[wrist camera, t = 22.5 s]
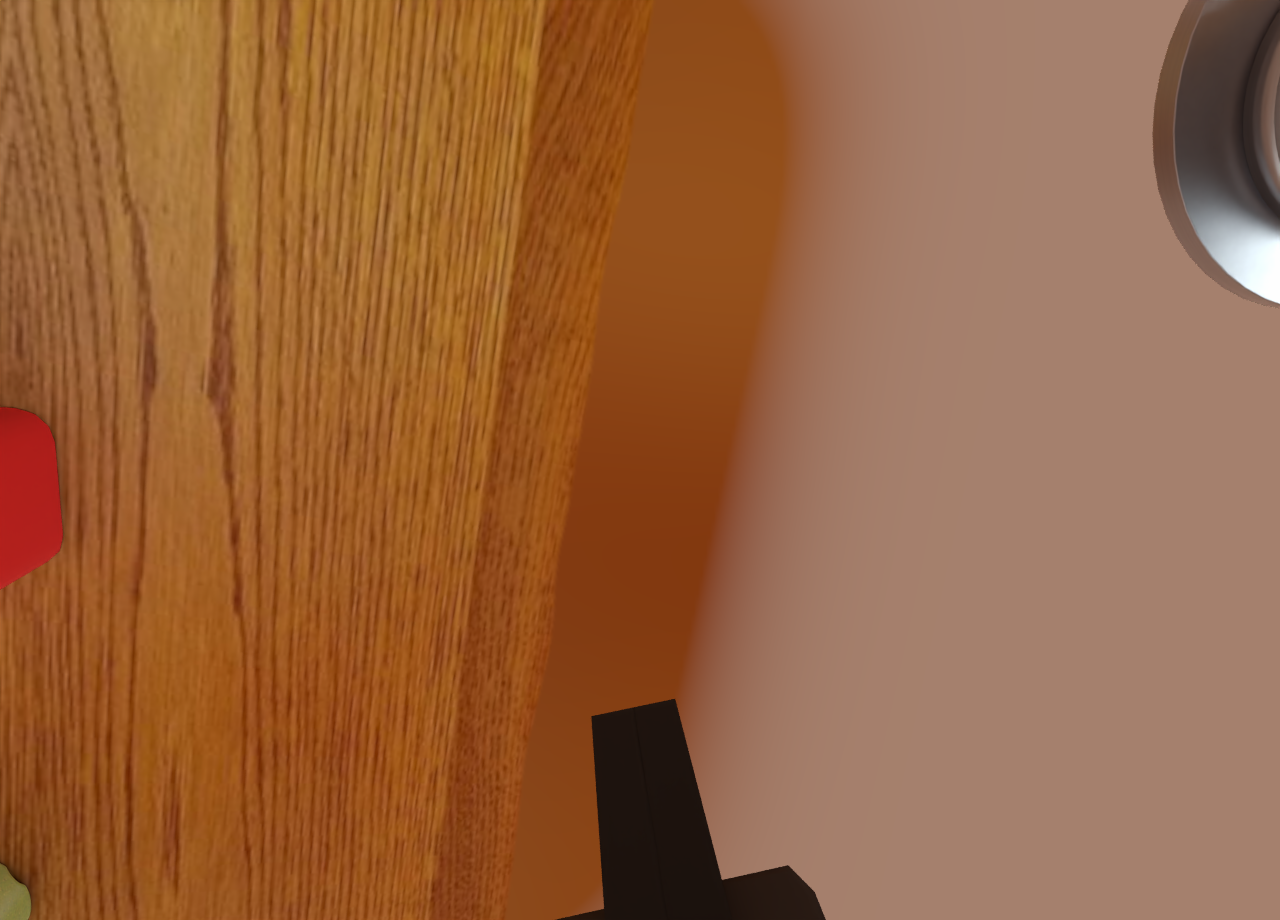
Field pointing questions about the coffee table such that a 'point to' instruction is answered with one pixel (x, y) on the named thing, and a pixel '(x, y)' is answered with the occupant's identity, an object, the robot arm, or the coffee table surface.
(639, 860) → the robot arm
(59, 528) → the mug
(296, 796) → the coffee table surface
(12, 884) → the plant pot
